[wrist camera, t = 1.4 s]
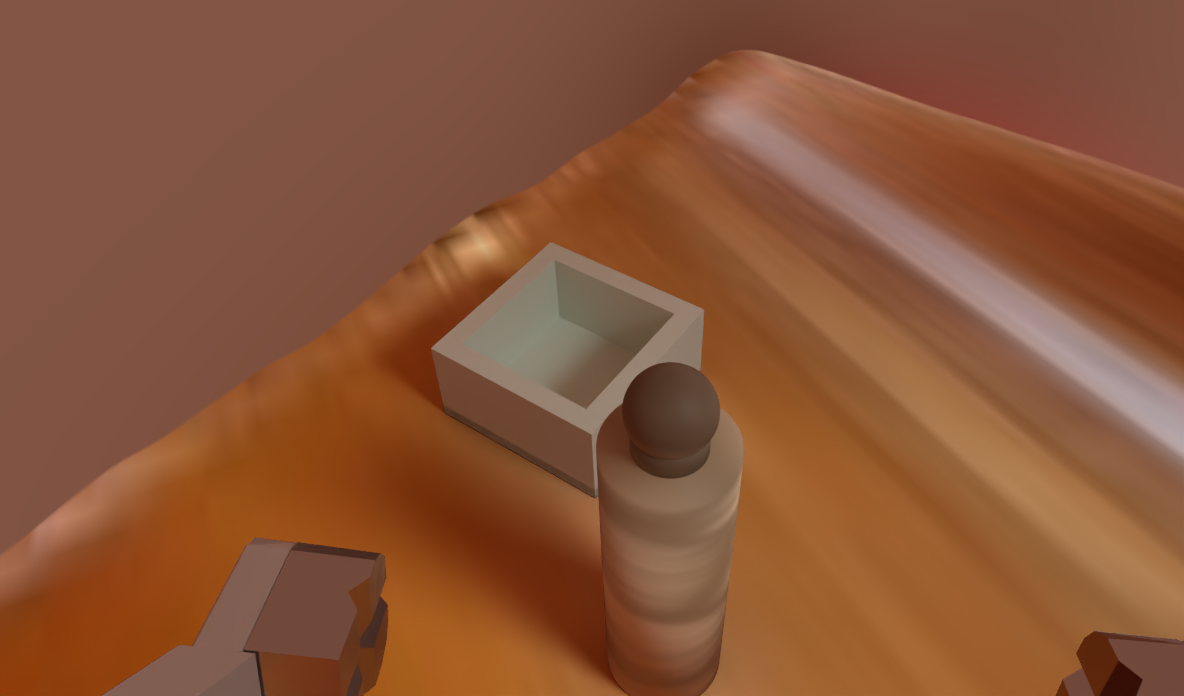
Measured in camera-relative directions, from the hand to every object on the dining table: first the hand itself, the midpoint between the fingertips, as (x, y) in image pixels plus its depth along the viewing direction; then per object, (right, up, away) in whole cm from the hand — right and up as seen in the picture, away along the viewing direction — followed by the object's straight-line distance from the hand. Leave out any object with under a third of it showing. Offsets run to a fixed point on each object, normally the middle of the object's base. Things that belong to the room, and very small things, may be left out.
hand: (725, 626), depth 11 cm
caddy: (-2, +1, +37) cm, 37 cm away
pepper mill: (+1, -9, +27) cm, 28 cm away
